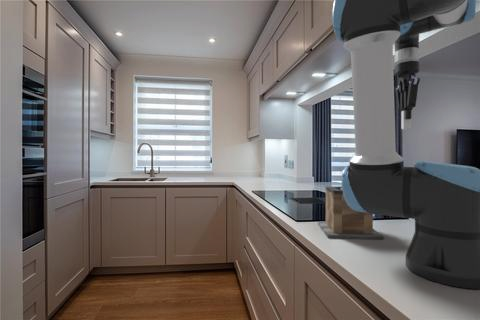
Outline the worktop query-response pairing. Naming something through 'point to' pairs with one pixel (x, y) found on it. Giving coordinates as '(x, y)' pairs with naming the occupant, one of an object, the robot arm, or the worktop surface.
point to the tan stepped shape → (346, 219)
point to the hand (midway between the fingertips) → (406, 128)
